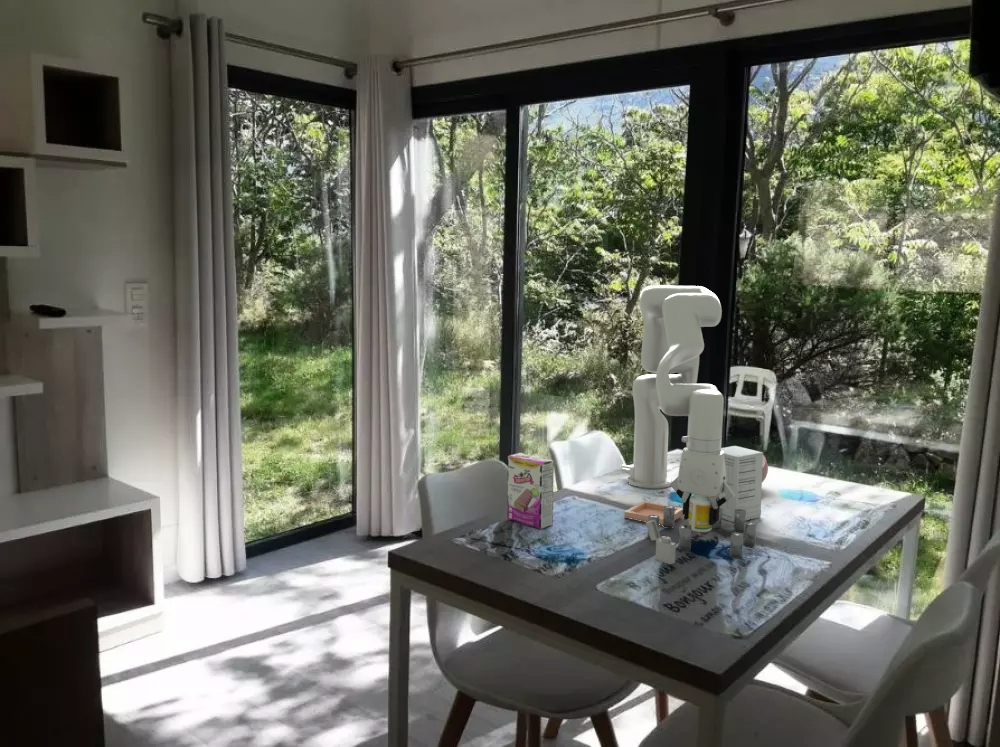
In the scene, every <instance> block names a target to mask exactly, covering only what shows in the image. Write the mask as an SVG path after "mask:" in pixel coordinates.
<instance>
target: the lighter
mask: <svg viewBox="0 0 1000 747" xmlns="http://www.w3.org/2000/svg"><path fill="white" fill-rule="evenodd" d="M645 525H646V528H647V531H648V532H649V535H650V538H649V539H650V540H651V542H653V541H655V560H656V561H658V562H659V561H660V562H661V563H662V562H663V563H665V564H668V565H673V564H675V563H676V548H677V547H676V542H672V538H671V537H669V536H665V535H663V536H661V535H660V530H659V531H658V528H657V525H656V522H655V520H652V521H649V522H646V523H645Z"/></svg>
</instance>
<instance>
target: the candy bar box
mask: <svg viewBox="0 0 1000 747" xmlns="http://www.w3.org/2000/svg"><path fill="white" fill-rule="evenodd" d="M554 462H555V461H554V460H552V459H547V458H544V457H539V456H536V455H531V454H527V453H523V452H518V453H513V454H510V455H508V456H507V509H506V510H507V514H506V516H507V520H509V521H512V522H516V523H519V524H522V525H526V526H529V527H532V528H535V529H538V530H543V529H546V528H549V527H552V526H554V524H553V522H554V521H553V520H554V475H555V474H554V473H555V472H554V466H555V464H554Z"/></svg>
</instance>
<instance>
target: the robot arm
mask: <svg viewBox="0 0 1000 747" xmlns="http://www.w3.org/2000/svg"><path fill="white" fill-rule="evenodd" d="M639 295H640V296H639V309H640V313H641V316H642V320H643V331H642V332H643V333H642V343H641V352H640V363H641V367H642V368H643V370H645V371H646V372H648V374H643V375H640V376H637V377H636V378H635V379H634V380H633V383H632V389H631V391H632V397H633V405H634V406H633V407H634V408H633V409H634V431H633V432H634V436H633V437H634V438H633V439H634V441H633V442H634V443H633V464H632V465H628V464H622V465H621V473H625V474H629V476H628V477H627V483H628V482H629V483H630V484H629V483H628V484H629V485H631V484H632V485H631V486H633V485H635V486H634V487H636V486H639V487H638V488H641V487H644V488H643V489H650V488H657V489H665V488H666V489H667V488H669V487H670V488H671V489H672V490H674V492H675V493H676V495H677V496H678V497H679V498H680V501H681V503H682V508H683V520H685V521H687V520H688V517H689V501H690V497H691V496H693V495H694V494H696V495H702V496H707V497H710V499H711V503H712V508H710V518H709V524H710V525H714V524H715V523H716V522H717V521H718V520H719V508H720V506H721V505H722V504H724V503H725V502H727V501H728V500H730V499H731V498H733V497H734V496H735V494H734V492H733V491H732V489H731V488H730V487H729V485H728V484H727V482H726V465H725V457H724V452H723V451H721V448H722V438H723V419H724V404H725V403H724V402H725V401H724V399H725V398H724V395H723V393H721V392H720V391H719V390H718V387H717V386H716V385H713V384H711V383H697V382H698V374H699V369H700V368H699V366H700V355H701V354H702V353H703V351H704V348H705V343H704V341H705V340H704V338H703V332H702V328H704V327H710V328H711V327H713V328H714V327H716V326H717V325H719V323H720V322H721V319H722V315H723V314H722V312H723V310H722V305H721V302H720V299H719V298H718V296H717V295H716V294H715V293H714V292H712V291H711V290H709V289H708V288H706V287H704V286H701V285H700V286H699V285H697V286H696V285H650V286H647V287H645V288H643V289H642V291H640V294H639ZM649 372H650V373H654V374H650V373H649ZM672 373H673V374H672ZM675 373H677V374H675ZM661 411H662V412H661ZM664 414H665V415H667V416H672V417H673V416H674V417H683V416H684V417H688V421H687V435H686V436H681V442H682V443H685V444H686V445H685V447H684V448H683V449H682V451H681V452H682V453H681V456H680V462H679V467H678V468H679V469H678V476H677V477H676V478H674V479H672V478H670V477H669V476H667V474H668V449H669V448H668V447H669V422H668V420H667V418H666V416H665V415H664ZM723 492H725V494H726V495H725V496H724V497H722V498H720V494H721V493H723Z"/></svg>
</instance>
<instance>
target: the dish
mask: <svg viewBox="0 0 1000 747" xmlns="http://www.w3.org/2000/svg"><path fill="white" fill-rule="evenodd" d="M666 505H667V504H662V503H655V502H650V501H646V500H642V501H641V502H639V503H638V504H635V505H634V506H632V507H630V508H629V509H627V510H625V511H624V518H625V517H626V518H632V519H637V520H641V521H646V522H648V515H658V516H659V524H660V525H663V514H664V506H666ZM674 507H675V514H674V522H675V520H676V519H677V520H678V518H679V517H680V518H682V517H683V516H684V515H683V507H678V506H677V507H676V506H674ZM682 515H683V516H682ZM681 516H682V517H681ZM680 518H679V519H680ZM677 520H676V521H677Z"/></svg>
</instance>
